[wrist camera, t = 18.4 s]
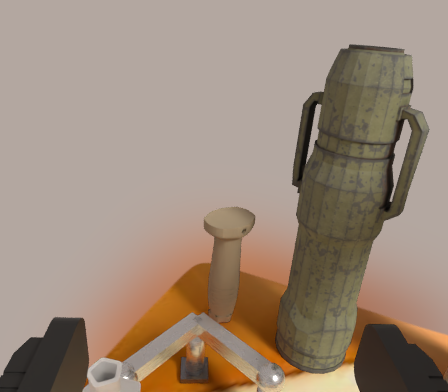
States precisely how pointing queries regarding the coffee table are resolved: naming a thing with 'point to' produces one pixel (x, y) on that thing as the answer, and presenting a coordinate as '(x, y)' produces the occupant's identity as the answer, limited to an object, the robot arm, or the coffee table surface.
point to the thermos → (345, 198)
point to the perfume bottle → (109, 378)
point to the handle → (226, 258)
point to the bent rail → (195, 361)
